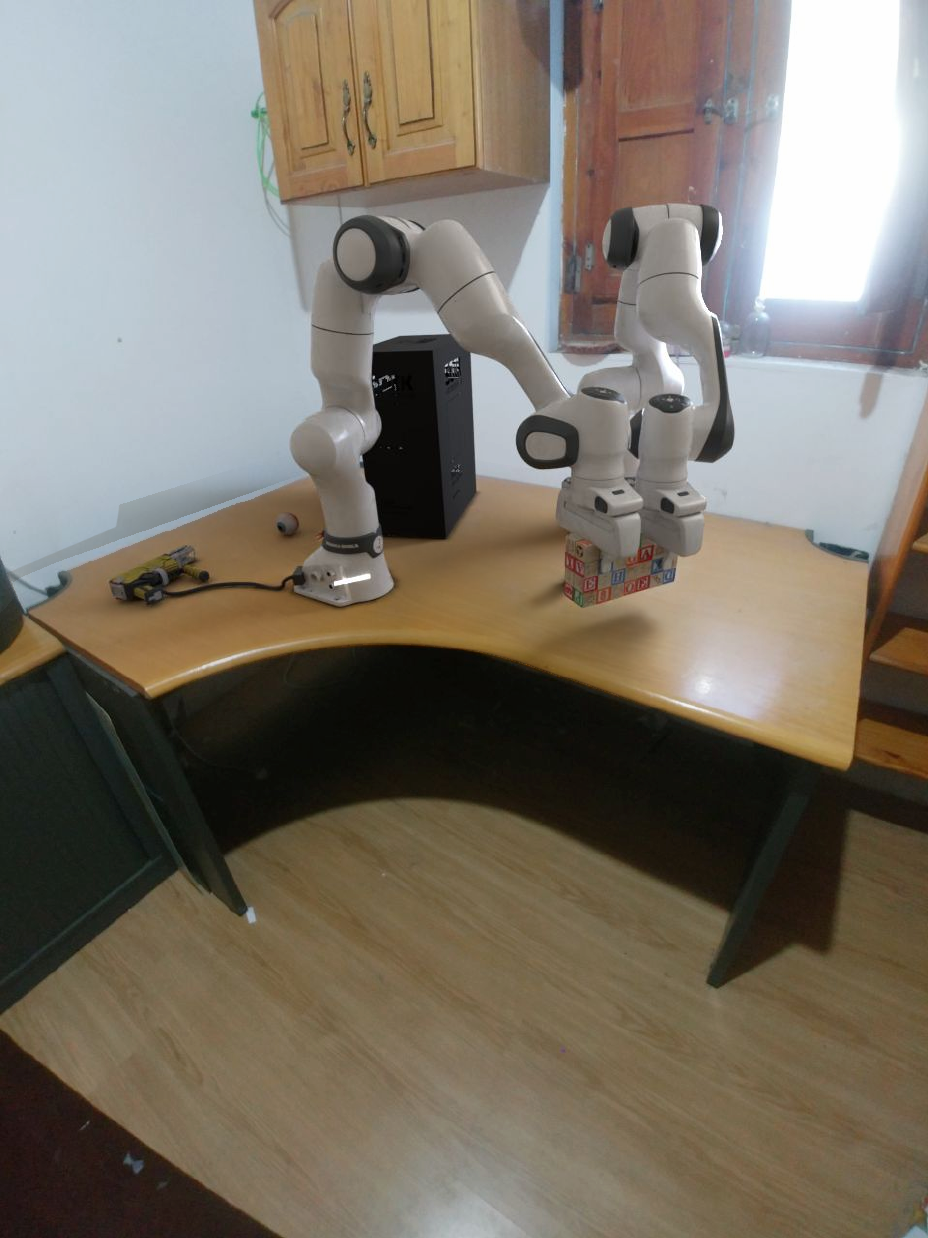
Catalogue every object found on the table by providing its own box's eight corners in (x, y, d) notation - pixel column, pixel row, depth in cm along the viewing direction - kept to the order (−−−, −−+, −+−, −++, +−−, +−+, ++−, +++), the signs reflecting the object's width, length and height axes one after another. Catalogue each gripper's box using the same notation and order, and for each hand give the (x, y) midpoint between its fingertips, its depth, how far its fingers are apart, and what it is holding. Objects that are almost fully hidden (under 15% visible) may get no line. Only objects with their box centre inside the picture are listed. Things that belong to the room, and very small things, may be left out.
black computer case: (446, 538, 156) (432, 350, 134) (372, 535, 161) (348, 352, 138) (476, 491, 188) (469, 333, 165) (414, 490, 192) (399, 335, 170)
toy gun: (232, 553, 147) (182, 542, 151) (158, 593, 127) (102, 580, 131) (234, 570, 150) (185, 559, 154) (162, 613, 130) (107, 599, 134)
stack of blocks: (653, 570, 122) (660, 512, 115) (674, 582, 117) (683, 522, 110) (563, 595, 114) (565, 534, 108) (582, 609, 109) (585, 546, 103)
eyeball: (273, 537, 164) (268, 516, 161) (287, 528, 169) (282, 508, 166) (291, 539, 161) (286, 518, 158) (305, 530, 166) (301, 510, 163)
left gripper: (548, 476, 110) (546, 547, 117) (617, 510, 93) (611, 589, 100) (577, 471, 112) (574, 540, 119) (650, 502, 96) (641, 580, 103)
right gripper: (610, 479, 116) (605, 545, 123) (685, 510, 100) (675, 585, 107) (636, 473, 118) (630, 539, 125) (714, 503, 102) (702, 577, 109)
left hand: (591, 563), depth 110 cm, fingers closed on stack of blocks, 6 cm apart
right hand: (651, 560), depth 116 cm, fingers closed on stack of blocks, 6 cm apart
